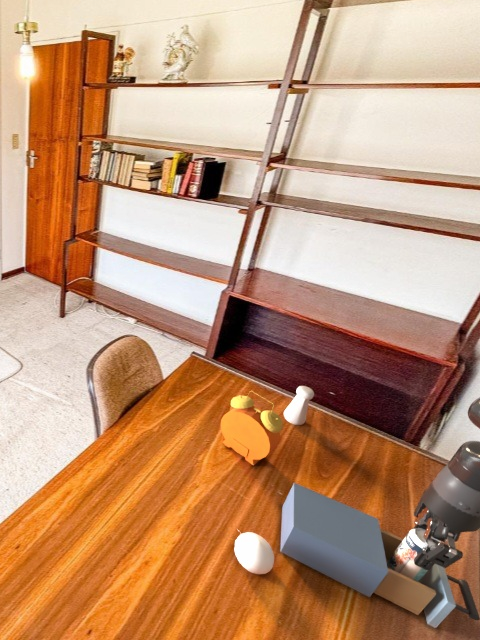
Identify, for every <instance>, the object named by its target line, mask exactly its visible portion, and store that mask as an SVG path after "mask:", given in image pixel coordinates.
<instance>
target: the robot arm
mask: <svg viewBox="0 0 480 640" xmlns="http://www.w3.org/2000/svg"><path fill="white" fill-rule="evenodd" d="M467 409H468V410H467V418H468V419H469V421H470V422H471V423H472V424H473V425H474V426H475V427H477V428H478V429H479V430H480V396H479V397H477V398H476V399H475V400H474V401H473V402H472V403H470V406H469V407H468V408H467ZM413 511H414V512H413V517H415V518H416V519H415V520H414V521H413V522H414V523H413V524H414V526H413V528H412V529H418V528H422V529H424V530H426V531H425V533H424V536H423V538H424V540H425V543H424V546H423V548H422V549H421V551H420V552H419V553H418V554H417V556H416V557H415V558H414V564H415V565H417V566H419V567H421V568H423V569H425V570H430V569H431V568H432V566H433V565H434V564H437V565H439V566H442V567H444V568H445V569H447V568H449V567H450V566H452V565H453V564H455V563H457V562H458V561H459V560H461V559H462V558H463V556H464V553H463V551H461V550H460V549H457V548H456V547H457V546H456V542H458V541H459V539H460V536H461V533H473V532H477V531H479V530H480V440H467V441H465V442H463V443H462V444H461V445H460V446H459V447H458V448H457V450H456V451H455V453H454V454H453V456H452V457H451V459H450V460H449V461H448V462H447V464H446V465H445V466H443V468H441V469H440V470H439V472H438V473H437V475H435V477H434V478H433V480H432V481H431V483H430V485H429V486H428V487H427V488H426V490H424V491H423V493H422V495H421V496H420V499H419V500H418V503H417V505H416V507H415V510H413ZM431 537H433V538H435V539H438V540H440V542H439V541H437V540H434V539H432V538H431ZM431 546H435V547H436V548H434V549H433V550H430V548H431Z"/></svg>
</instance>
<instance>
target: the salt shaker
mask: <svg viewBox="0 0 480 640" xmlns="http://www.w3.org/2000/svg"><path fill="white" fill-rule="evenodd" d="M295 393H296V395H295V397H294V398H293V399H292V400H291V402H290V403H289V404H288V405H287V407H286V408H285V410H284V411H283V418H284V419H285V420H286V422H288V423H290V424H292V425H294V426H302V425H304V424H305V422H306V421H307V418H308V417H307V416H308V409H309V403H310V400H313V398H314V396H315V391H314V390H313V389H312V388H311V387H308V386H306V385H299V386H298V387H297V388H296V391H295Z"/></svg>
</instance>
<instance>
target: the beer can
mask: <svg viewBox="0 0 480 640" xmlns="http://www.w3.org/2000/svg"><path fill="white" fill-rule="evenodd" d="M425 531H426V530H424V529H422V528H418V529H413V528H412V529H410V530H409V531H408V532H407V534H406V535H405V537H404V538H403V539H404V540H403V541H402V542H401V544H400V545H399V546H398V548H397V549H396V551H395V552H394V553H393V555H392V556H391V557H390V559H389V560H388V562H387V568H389V569H391V570H393V571H396V572H398V573H400V574H402V575H404V576H406V577H408V578H410V579H412V580H415V581H417V582H419V581H420V580H421V579H422V577H423V576H424V575H425V574H426V572H427V571H428V570H425V569H423V568H421V567H419V566H417V565H415V564H414V558H415V557H416V556H417V554H418V553H419V552H420V551H421V549H422V548H423V546H424V543H425V540H424V538H423V536H424V533H425ZM431 538H432V539H434V540H437V541H439V542H441V541H440V540H438V539H435V538H433V537H431ZM434 548H436V547H435V546H431V548H430V550H433V549H434Z"/></svg>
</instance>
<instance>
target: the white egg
mask: <svg viewBox="0 0 480 640" xmlns="http://www.w3.org/2000/svg"><path fill="white" fill-rule="evenodd" d="M238 532H239V533H240V534H239V535H238V536H237V537H236V538H235V540H234V548H233V549H234V554H235V557H236V558H237V561H238V563H239V564H240V565H241V566H242V567H243V568H244V569H245V570H246V571H248V572H250V573H252V574H254V575H266V574H267V573H269V572H270V571H271V570H272V569H273V568H274V565H275V555H274V551H273V548H272V546H271V545H270V543H269V542H268V541H267V540H266V539H265V538H264V537H263V536H262V535H259V534H257V533H255V532H252V531H251V532H243V533H241V531H240V530H238Z"/></svg>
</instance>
